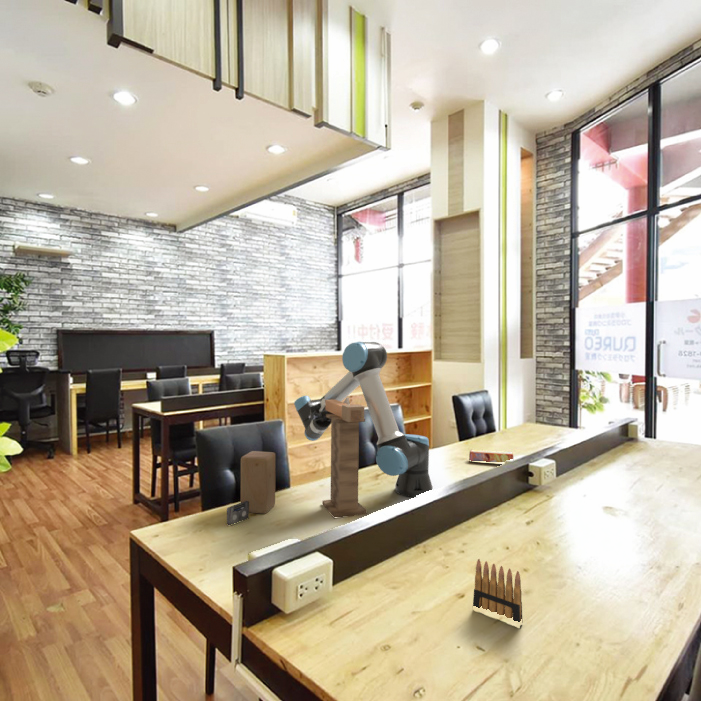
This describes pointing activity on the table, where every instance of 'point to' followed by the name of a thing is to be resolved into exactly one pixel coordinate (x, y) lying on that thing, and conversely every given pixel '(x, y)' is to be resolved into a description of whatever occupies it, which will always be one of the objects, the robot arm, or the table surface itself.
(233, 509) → the mini dv tape
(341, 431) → the walnut stand
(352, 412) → the terracotta bar
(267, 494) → the wooden block
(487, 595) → the ammunition clip
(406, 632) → the table surface
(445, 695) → the table surface
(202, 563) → the table surface
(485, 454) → the red printed rectangular box
